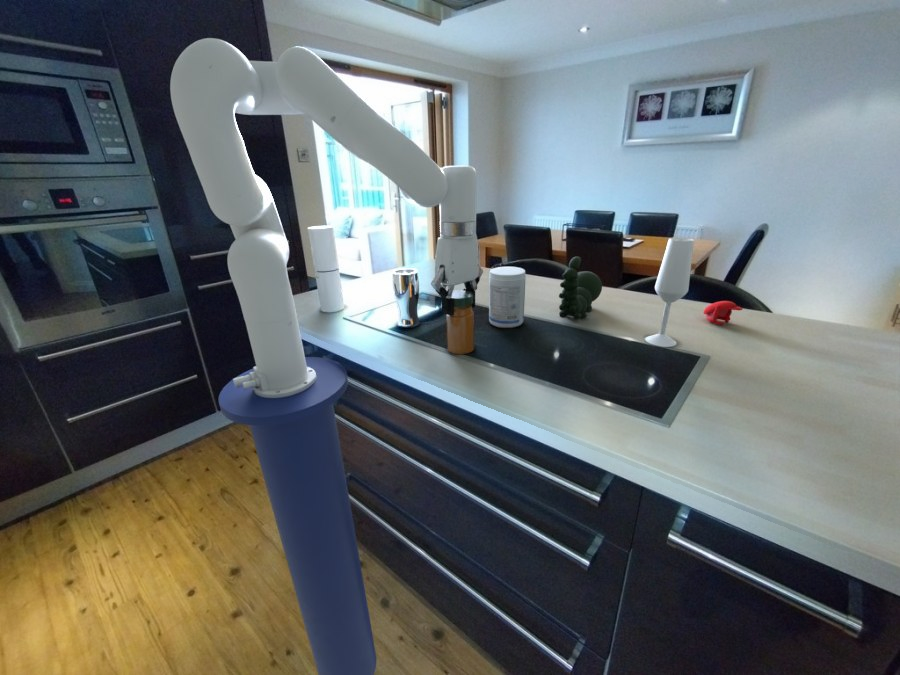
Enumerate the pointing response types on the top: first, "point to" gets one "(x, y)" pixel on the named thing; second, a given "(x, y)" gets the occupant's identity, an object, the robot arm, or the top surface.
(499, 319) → the supplement tub
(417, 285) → the beer glass
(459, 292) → the lid
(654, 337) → the champagne flute
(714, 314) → the red animal figurine
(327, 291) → the cylindrical container
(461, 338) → the jar
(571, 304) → the toy figurine
